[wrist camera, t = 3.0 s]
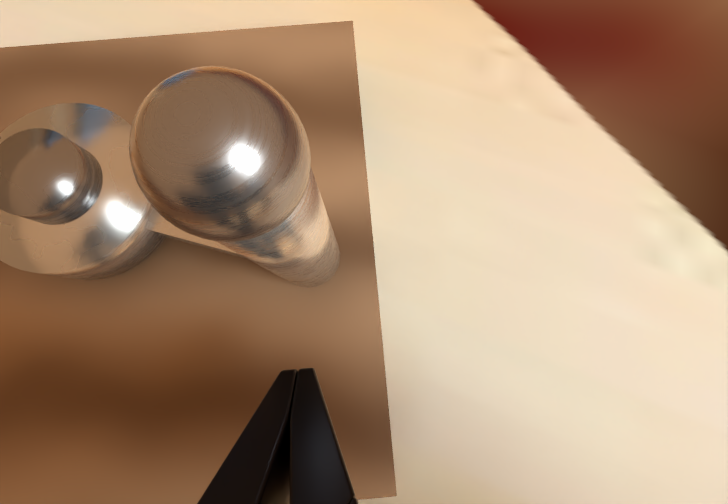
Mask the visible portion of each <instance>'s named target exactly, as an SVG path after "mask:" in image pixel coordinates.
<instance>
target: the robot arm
mask: <svg viewBox="0 0 728 504" xmlns="http://www.w3.org/2000/svg"><path fill="white" fill-rule="evenodd" d="M197 504H358V501H357V498H356V496H355V492H354V489H353V486H352V483H351V479H350V476H349V473H348V470H347V467H346V464H345V461H344V458H343V455H342V452H341V449H340V445H339V442H338V439H337V436H336V433H335V430H334V427H333V424H332V421H331V418H330V415H329V411H328V408H327V405H326V402H325V399H324V396H323V393H322V390H321V387H320V384H319V381H318V377H317V374H316V371H315V369H314V368H301V369H299V370H297V369H289V370H282V371H281V372H280V373H279V374H278V376H277V378H276V379H275V381H274V382H273V384H272V386H271V387H270V389H269V390H268V392H267V393H266V395H265V397H264V398H263V400H262V401H261V403H260V405H259V406H258V408H257V409H256V411H255V413H254V414H253V416H252V417H251V419H250V420H249V422H248V424H247V425H246V427H245V428H244V430H243V432H242V433H241V435H240V436H239V438H238V439H237V441H236V443H235V444H234V446H233V447H232V449H231V451H230V452H229V454H228V455H227V457H226V459H225V460H224V462H223V463H222V465H221V466H220V468H219V470H218V471H217V473H216V474H215V476H214V478H213V479H212V481H211V482H210V484H209V485H208V487H207V489H206V490H205V492H204V493H203V495H202V497H201V498H200V500H199V501H198V503H197Z"/></svg>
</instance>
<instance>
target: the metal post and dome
mask: <svg viewBox="0 0 728 504" xmlns="http://www.w3.org/2000/svg"><path fill="white" fill-rule="evenodd" d="M165 237H169V238H172V239H176V240H180V241H184V242H187V243H191V244H195V245H198V246H202V247H206V248H210V249H213V250H217V251H221V252H224V253H228V254H232V255H235V256H239V257H243V258H247V259H249V260H251V261H252V262H254V263H256V264H258V265H260V266H261V267H263V268H265V269H267V270H269V271H271V272H272V273H274V274H276V275H278V276H280V277H281V278H283V279H285V280H287V281H289V282H291V283H292V284H294V285H297V286H299V287H306V288H310V287H316V286H319V285H322V284H324V283H325V282H327V281H328V280H329V279H330V278H331V277H332V276H333V275H334V273H335V272H336V270H337V268H338V265H339V261H340V250H339V247H338V244H337V241H336V238H335V235H334V232H333V229H332V226H331V223H330V220H329V217H328V215H327V212H326V209H325V206H324V203H323V200H322V197H321V194H320V191H319V188H318V186H317V183H316V180H315V177H314V174H313V171H312V168H311V153H310V147H309V141H308V137H307V134H306V131H305V129H304V126H303V124H302V122H301V120H300V118H299V116H298V115H297V113H296V112H295V110H294V109H293V107H292V106H291V105H290V103H289V102H288V101H287V100H286V99H285V98H284V97H283V96H282V95H281V94H280V93H279V92H278V91H277V90H275V89H274V88H273V87H272V86H271V85H269V84H268V83H266V82H265V81H263V80H261V79H260V78H258V77H256V76H253V75H251V74H249V73H247V72H244V71H241V70H238V69H233V68H227V67H222V66H202V67H196V68H191V69H188V70H184V71H181V72H179V73H176V74H174V75H172V76H170V77H168V78H167V79H165V80H164V81H162V82H161V83H159V84H158V85H157V86H156V87H155V88H154V89H152V90H151V92H150V93H149V94H148V95H147V96H146V97H145V99H144V100H143V102H142V103H141V105H140V106H139V108H138V110H137V112H136V114H135V117H134V119H133V122H132V126H131V125H130V124H129V123H128V122H127V121H126V120H124V119H123V118H122V117H120V116H119V115H117V114H116V113H114V112H112V111H109V110H107V109H105V108H102V107H99V106H96V105H91V104H85V103H62V104H56V105H51V106H47V107H44V108H41V109H38V110H36V111H33V112H31V113H28V114H27V115H25V116H23V117H21V118H19V119H18V120H16V121H15V122H13V123H12V124H11V125H9V126H8V127H7V128H6V129H4V130H3V131H2V132H1V133H0V260H1V261H2V262H4V263H6V264H8V265H10V266H12V267H14V268H17V269H20V270H23V271H28V272H33V273H39V274H46V275H52V276H59V277H65V278H72V279H79V280H99V279H105V278H110V277H113V276H116V275H119V274H122V273H124V272H126V271H128V270H130V269H132V268H134V267H135V266H137V265H139V264H140V263H141V262H143V261H144V260H145V259H147V258H148V257H149V256H150V255H151V254H152V253H153V252H154V251H155V250H156V249H157V248H158V247H159V245H160V244H161V243H162V242H163V240H164V239H165Z"/></svg>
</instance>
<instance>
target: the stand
mask: <svg viewBox="0 0 728 504" xmlns="http://www.w3.org/2000/svg"><path fill="white" fill-rule="evenodd" d="M202 66H222V67H227V68H233V69H238V70H241V71H244V72H247V73H249V74H251V75H253V76H256V77H258V78H260V79H261V80H263V81H265V82H266V83H268V84H269V85H271V86H272V87H273V88H274V89H275V90H277V91H278V92H279V93H280V94H281V95H282V96H283V97H284V98H285V99H286V100H287V101H288V102H289V103H290V105H291V106H292V107H293V109H294V110H295V112H296V113H297V115H298V116H299V118H300V120H301V122H302V124H303V126H304V129H305V131H306V134H307V137H308V141H309V147H310V153H311V168H312V171H313V174H314V177H315V180H316V183H317V186H318V188H319V191H320V194H321V197H322V200H323V203H324V206H325V209H326V212H327V215H328V217H329V220H330V223H331V226H332V229H333V232H334V235H335V238H336V241H337V244H338V247H339V250H340V261H339V265H338V268H337V270H336V272H335V273H334V275H333V276H332V277H331V278H330V279H329V280H328V281H327V282H325V283H324V284H322V285H319V286H316V287H310V288H306V287H299V286H297V285H294V284H292V283H291V282H289V281H287V280H285V279H283V278H281V277H280V276H278V275H276V274H274V273H272V272H271V271H269V270H267V269H265V268H263V267H261V266H260V265H258V264H256V263H254V262H252V261H251V260H249V259H247V258H243V257H239V256H235V255H232V254H228V253H224V252H221V251H217V250H213V249H210V248H206V247H202V246H198V245H195V244H191V243H187V242H184V241H180V240H176V239H172V238H169V237H165V239H164V240H163V242H162V243H161V244H160V245H159V247H158V248H157V249H156V250H155V251H154V252H153V253H152V254H151V255H150V256H149V257H148V258H147V259H145V260H144V261H143V262H141V263H140V264H139V265H137V266H135V267H134V268H132V269H130V270H128V271H126V272H124V273H122V274H119V275H116V276H113V277H110V278H105V279H99V280H79V279H72V278H65V277H59V276H52V275H46V274H39V273H33V272H28V271H23V270H20V269H17V268H14V267H12V266H10V265H8V264H6V263H4V262H2V261H1V260H0V504H197V503H198V501H199V500H200V498H201V497H202V495H203V493H204V492H205V490H206V489H207V487H208V485H209V484H210V482H211V481H212V479H213V478H214V476H215V474H216V473H217V471H218V470H219V468H220V466H221V465H222V463H223V462H224V460H225V459H226V457H227V455H228V454H229V452H230V451H231V449H232V447H233V446H234V444H235V443H236V441H237V439H238V438H239V436H240V435H241V433H242V432H243V430H244V428H245V427H246V425H247V424H248V422H249V420H250V419H251V417H252V416H253V414H254V413H255V411H256V409H257V408H258V406H259V405H260V403H261V401H262V400H263V398H264V397H265V395H266V393H267V392H268V390H269V389H270V387H271V386H272V384H273V382H274V381H275V379H276V378H277V376H278V374H279V373H280V372H281V371H282V370H289V369H297V370H299V369H301V368H314V369H315V371H316V374H317V377H318V381H319V384H320V387H321V390H322V393H323V396H324V399H325V402H326V405H327V408H328V411H329V415H330V418H331V421H332V424H333V427H334V430H335V433H336V436H337V439H338V442H339V445H340V449H341V452H342V455H343V458H344V461H345V464H346V467H347V470H348V473H349V476H350V479H351V483H352V486H353V489H354V492H355V496H356V498H357V500H359V499H370V498H380V497H391V496H397V495H396V484H395V473H394V462H393V452H392V441H391V430H390V419H389V408H388V398H387V387H386V376H385V365H384V355H383V344H382V333H381V322H380V311H379V301H378V290H377V279H376V268H375V257H374V247H373V236H372V225H371V214H370V204H369V193H368V182H367V171H366V160H365V150H364V139H363V128H362V117H361V106H360V96H359V85H358V74H357V63H356V53H355V42H354V31H353V21H344V22H331V23H318V24H305V25H292V26H279V27H266V28H253V29H240V30H227V31H214V32H201V33H188V34H174V35H161V36H148V37H135V38H122V39H109V40H96V41H83V42H70V43H57V44H44V45H31V46H18V47H5V48H0V133H1V132H2V131H3V130H4V129H6V128H7V127H8V126H9V125H11V124H12V123H13V122H15V121H16V120H18V119H19V118H21V117H23V116H25V115H27V114H28V113H31V112H33V111H36V110H38V109H41V108H44V107H47V106H51V105H56V104H62V103H85V104H91V105H96V106H99V107H102V108H105V109H107V110H109V111H112V112H114V113H116V114H117V115H119V116H120V117H122V118H123V119H124V120H126V121H127V122H128V123H129V124H130V125H131V126H132V122H133V119H134V117H135V114H136V112H137V110H138V108H139V106H140V105H141V103H142V102H143V100H144V99H145V97H146V96H147V95H148V94H149V93H150V92H151V90H152V89H154V88H155V87H156V86H157V85H158V84H159V83H161V82H162V81H164V80H165V79H167V78H168V77H170V76H172V75H174V74H176V73H179V72H181V71H184V70H188V69H191V68H196V67H202Z"/></svg>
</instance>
